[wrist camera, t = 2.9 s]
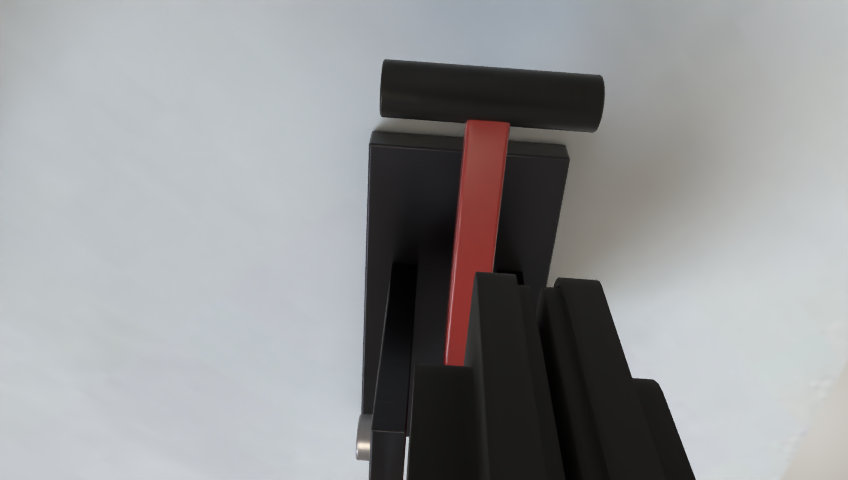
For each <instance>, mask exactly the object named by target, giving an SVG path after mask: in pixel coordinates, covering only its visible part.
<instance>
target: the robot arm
mask: <svg viewBox="0 0 848 480" xmlns="http://www.w3.org/2000/svg"><path fill="white" fill-rule="evenodd" d="M407 480H696V479H695V476H694V474H693V471H692V469H691V466H690V463H689V461H688V458H687V455H686V453H685V450H684V447H683V445H682V442H681V439H680V437H679V434H678V431H677V429H676V426H675V423H674V421H673V418H672V415H671V413H670V410H669V407H668V405H667V402H666V399H665V397H664V394H663V392H662V390H661V388H660V386H659V384H658V383H657V382H656V381H654V380H652V379H638V378H632V376H631V373H630V370H629V367H628V364H627V361H626V358H625V355H624V352H623V349H622V346H621V343H620V340H619V337H618V334H617V331H616V328H615V325H614V322H613V319H612V316H611V313H610V310H609V307H608V303H607V300H606V297H605V294H604V291H603V288H602V285H601V283H600V281H598V280H587V279H573V278H559V277H558V278H557V279H556V282H555V284H554V288H553V287H542V288H541V290H540V293H539V298H538V303H537V309H536V311H535V306H534V300H533V294H532V289H531V286H525V285H518V283H517V277H516V275H515V274H504V273H490V272H476V273H475V276H474V283H473V290H472V299H471V307H470V315H469V324H468V332H467V340H466V349H465V357H464V365H463V366H454V365H440V364H425V363H415V368H414V381H413V394H412V407H411V421H410V435H409V449H408V464H407Z"/></svg>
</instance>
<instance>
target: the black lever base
mask: <svg viewBox="0 0 848 480" xmlns="http://www.w3.org/2000/svg"><path fill="white" fill-rule="evenodd" d="M463 139H464V138H458V137H445V136H431V135H417V134H404V133H390V132H376V131H374V132H372V134H371V139H370V143H369V163H368V198H367V233H366V268H365V303H364V338H363V373H362V408H361V415H360V417H359V422H358V430H357V441H356V459H357V460H367V461H370V462H369V480H403V473H404V459H405V445H406V437H409V435H410V421H411V407H412V394H413V381H414V368H415V363H425V364H440V365H442V363H443V353H444V342H445V331H446V320H447V310H448V299H449V288H450V278H451V267H452V256H453V246H454V235H455V224H456V214H457V203H458V192H459V181H460V171H461V160H462V149H463ZM569 162H570V158H569V155H568V152H567V149H566V146H565V145H554V144H541V143H527V142H513V141H508V148H507V156H506V165H505V173H504V181H503V190H502V198H501V207H500V215H499V223H498V232H497V240H496V248H495V257H494V265H493V273H504V274H515V275H516V277H517V283H518V285H525V286H531V289H532V294H533V300H534V306H535V311H536V309H537V303H538V298H539V293H540V290H541V288H542V287H546V286H547V280H548V275H549V270H550V264H551V259H552V254H553V248H554V243H555V237H556V232H557V227H558V221H559V216H560V210H561V205H562V200H563V194H564V189H565V183H566V178H567V173H568V167H569Z"/></svg>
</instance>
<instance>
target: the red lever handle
mask: <svg viewBox="0 0 848 480" xmlns="http://www.w3.org/2000/svg"><path fill="white" fill-rule="evenodd" d="M604 98H605V86H604V80H603V77H602V76H600V75H592V74H578V73H565V72H551V71H538V70H524V69H511V68H497V67H484V66H470V65H457V64H443V63H430V62H416V61H402V60H389V59H385V60H384V61H383V65H382V73H381V86H380V115H381V117H388V118H402V119H415V120H429V121H442V122H456V123H465V128H464V139H463V149H462V160H461V171H460V181H459V192H458V203H457V214H456V224H455V235H454V246H453V256H452V267H451V278H450V288H449V299H448V310H447V320H446V331H445V342H444V353H443V363H442V365H454V366H463V365H464V357H465V349H466V340H467V332H468V324H469V315H470V307H471V299H472V290H473V283H474V276H475V273H476V272H490V273H493V265H494V257H495V248H496V240H497V232H498V223H499V215H500V207H501V198H502V190H503V181H504V173H505V165H506V156H507V148H508V139H509V131H510V126H511V127H524V128H538V129H552V130H565V131H579V132H595V131H596V130H597V129H598V127H599V124H600V121H601V118H602V114H603V108H604Z"/></svg>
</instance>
